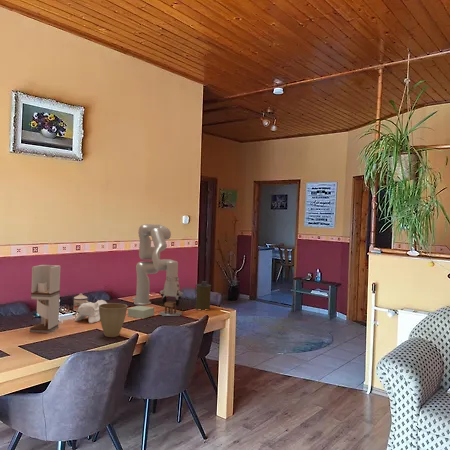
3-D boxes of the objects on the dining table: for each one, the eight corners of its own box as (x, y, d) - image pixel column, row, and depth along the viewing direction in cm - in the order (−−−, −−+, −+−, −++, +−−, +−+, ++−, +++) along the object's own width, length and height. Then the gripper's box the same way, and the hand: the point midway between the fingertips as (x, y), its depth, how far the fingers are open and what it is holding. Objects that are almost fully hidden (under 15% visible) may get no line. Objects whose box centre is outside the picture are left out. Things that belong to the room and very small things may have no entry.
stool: (168, 311, 288) (169, 301, 288) (176, 312, 286) (177, 302, 286) (164, 313, 283) (164, 302, 283) (172, 314, 280) (172, 303, 280)
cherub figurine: (112, 301, 268) (92, 303, 250) (109, 321, 267) (89, 324, 249) (95, 298, 273) (74, 300, 254) (92, 318, 272) (71, 321, 253)
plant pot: (99, 340, 218) (100, 309, 218) (96, 332, 232) (97, 303, 232) (128, 338, 224) (129, 307, 224) (123, 330, 238) (124, 302, 238)
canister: (211, 308, 311) (212, 280, 310) (209, 311, 300) (210, 282, 300) (196, 307, 312) (197, 280, 312) (193, 310, 301) (194, 281, 301)
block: (127, 316, 274) (127, 308, 274) (138, 313, 285) (138, 305, 285) (143, 318, 269) (143, 310, 269) (153, 315, 280) (154, 307, 280)
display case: (39, 326, 240) (42, 264, 240) (58, 327, 240) (60, 265, 239) (29, 331, 229) (32, 266, 228) (49, 332, 228) (51, 267, 228)
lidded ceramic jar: (69, 311, 282) (70, 293, 282) (79, 309, 290) (80, 292, 290) (83, 313, 277) (84, 295, 277) (93, 311, 285) (94, 293, 285)
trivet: (154, 315, 280) (154, 313, 280) (166, 311, 294) (166, 309, 294) (174, 318, 274) (174, 316, 274) (185, 313, 288) (185, 312, 288)
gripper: (186, 279, 284) (185, 305, 284) (163, 277, 291) (162, 302, 291) (180, 281, 277) (179, 307, 277) (157, 278, 284) (156, 304, 284)
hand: (170, 304), depth 284 cm, fingers open, 9 cm apart
